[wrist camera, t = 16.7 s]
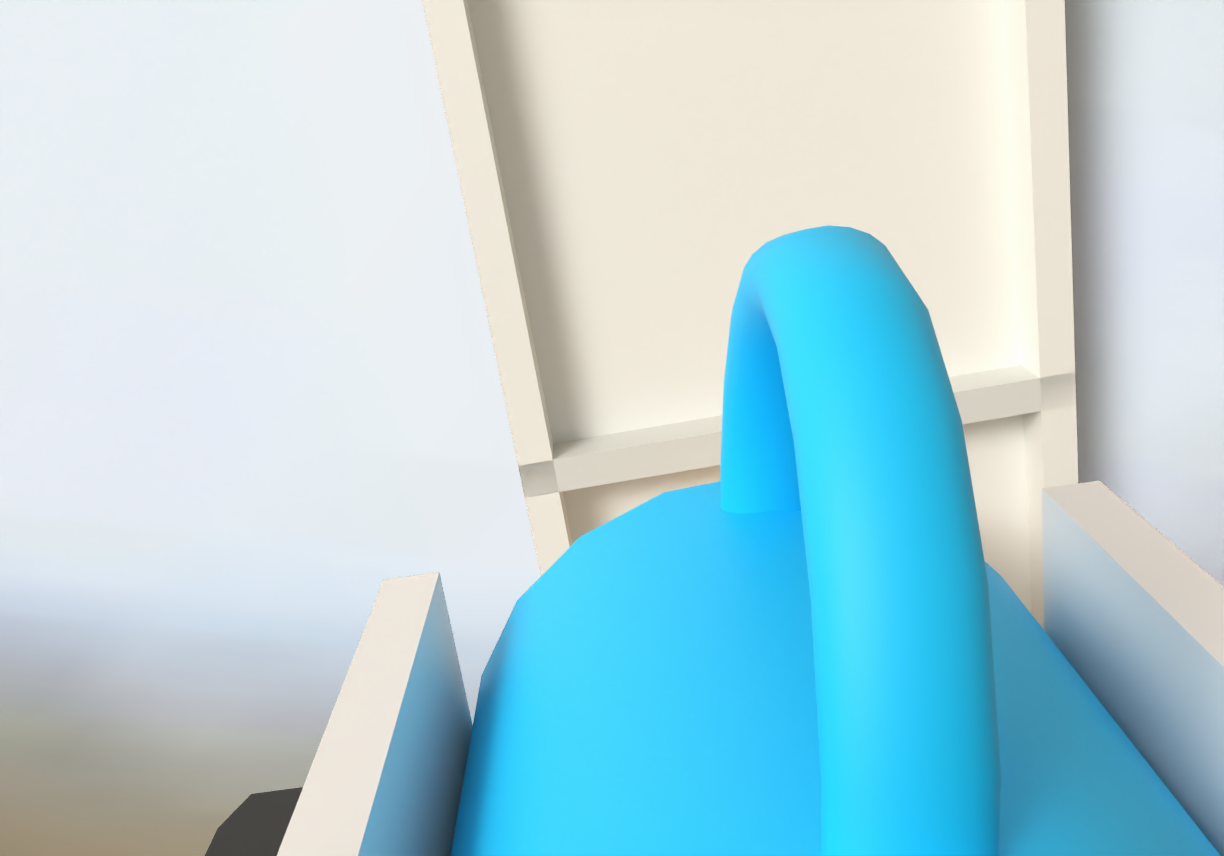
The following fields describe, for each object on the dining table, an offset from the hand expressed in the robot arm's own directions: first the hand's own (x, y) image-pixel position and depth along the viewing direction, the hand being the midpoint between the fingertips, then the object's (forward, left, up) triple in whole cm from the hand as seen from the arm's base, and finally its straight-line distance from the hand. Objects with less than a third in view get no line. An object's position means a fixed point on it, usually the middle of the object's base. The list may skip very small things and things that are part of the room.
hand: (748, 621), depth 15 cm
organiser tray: (+4, -2, -18) cm, 19 cm away
